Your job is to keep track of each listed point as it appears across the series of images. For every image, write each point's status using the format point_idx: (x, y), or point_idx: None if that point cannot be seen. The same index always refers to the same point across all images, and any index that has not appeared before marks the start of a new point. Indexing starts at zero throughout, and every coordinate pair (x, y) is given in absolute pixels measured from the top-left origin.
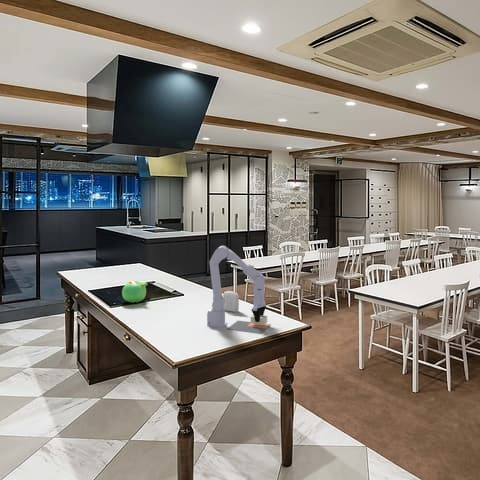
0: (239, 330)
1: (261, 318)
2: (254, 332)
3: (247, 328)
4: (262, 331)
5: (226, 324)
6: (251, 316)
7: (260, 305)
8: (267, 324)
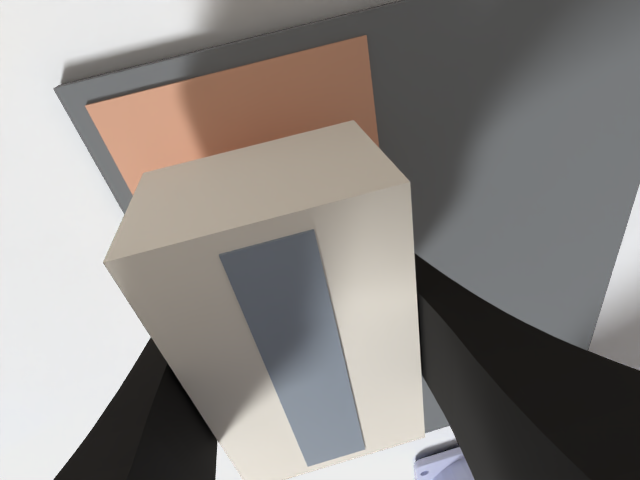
0: (586, 295)
1: (410, 258)
2: (638, 104)
3: (488, 277)
4: (566, 4)
5: (449, 455)
6: (401, 440)
7: None
8: (132, 157)
